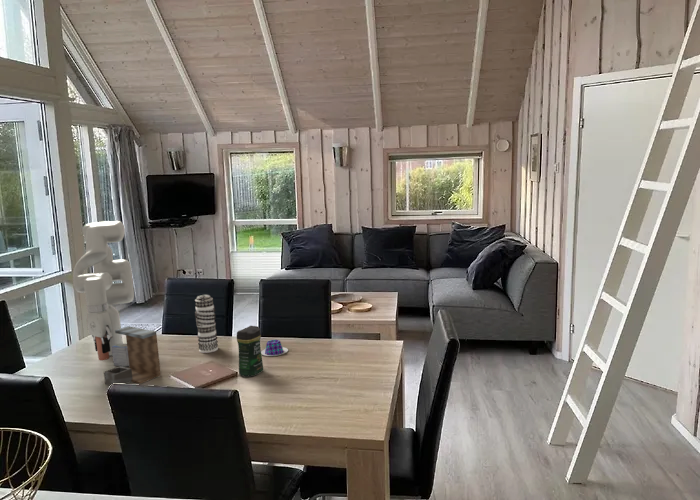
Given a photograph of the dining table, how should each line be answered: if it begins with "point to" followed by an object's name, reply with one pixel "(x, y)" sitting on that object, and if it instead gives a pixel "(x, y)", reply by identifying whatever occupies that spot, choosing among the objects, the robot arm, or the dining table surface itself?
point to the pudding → (274, 348)
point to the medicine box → (120, 355)
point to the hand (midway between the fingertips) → (103, 350)
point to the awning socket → (137, 358)
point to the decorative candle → (206, 324)
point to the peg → (99, 348)
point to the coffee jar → (249, 351)
